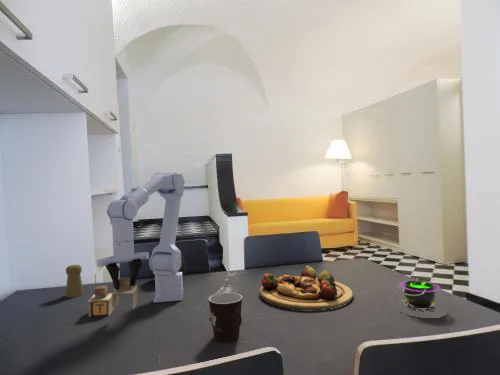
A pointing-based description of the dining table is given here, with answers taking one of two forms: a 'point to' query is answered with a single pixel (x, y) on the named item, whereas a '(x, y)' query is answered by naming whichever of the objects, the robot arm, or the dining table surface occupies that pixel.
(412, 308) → the toy cauldron
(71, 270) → the cork
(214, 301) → the coffee mug
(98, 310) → the orange cube
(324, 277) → the wooden plate with food
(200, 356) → the dining table surface
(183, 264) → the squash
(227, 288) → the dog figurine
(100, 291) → the cover
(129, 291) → the cover
